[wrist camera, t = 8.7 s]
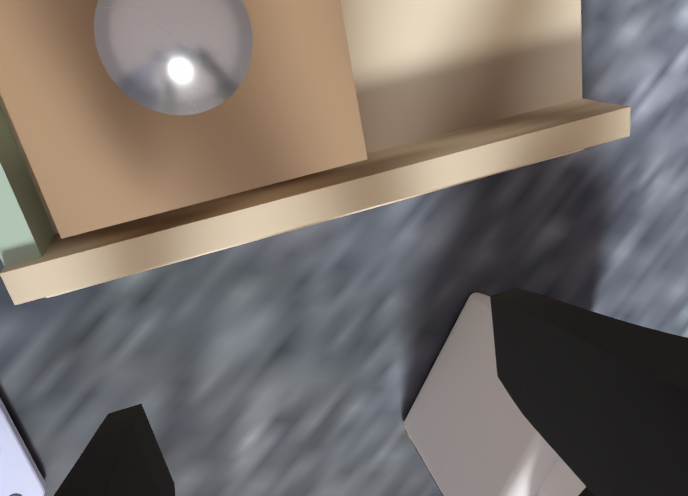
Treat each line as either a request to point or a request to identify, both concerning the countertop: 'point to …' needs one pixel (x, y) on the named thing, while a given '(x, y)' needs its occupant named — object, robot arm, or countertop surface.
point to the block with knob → (174, 100)
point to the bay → (378, 130)
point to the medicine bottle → (481, 422)
